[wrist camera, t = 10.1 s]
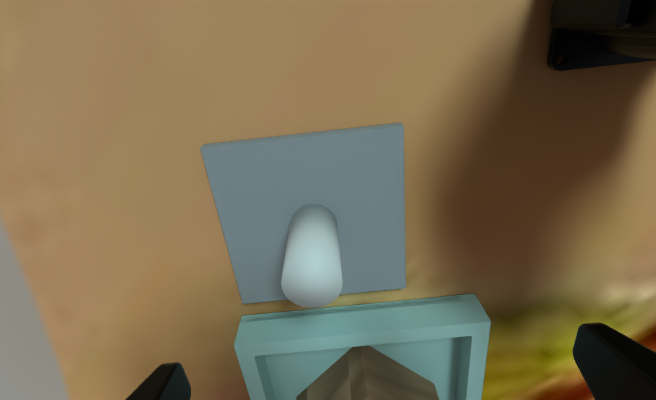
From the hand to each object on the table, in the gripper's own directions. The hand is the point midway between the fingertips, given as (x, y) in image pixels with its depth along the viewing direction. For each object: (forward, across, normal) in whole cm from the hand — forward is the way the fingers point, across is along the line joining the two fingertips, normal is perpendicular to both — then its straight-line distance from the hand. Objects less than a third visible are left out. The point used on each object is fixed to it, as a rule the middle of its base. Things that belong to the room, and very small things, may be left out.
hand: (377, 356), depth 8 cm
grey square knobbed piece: (+12, +2, +3) cm, 13 cm away
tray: (+12, 0, +17) cm, 21 cm away
